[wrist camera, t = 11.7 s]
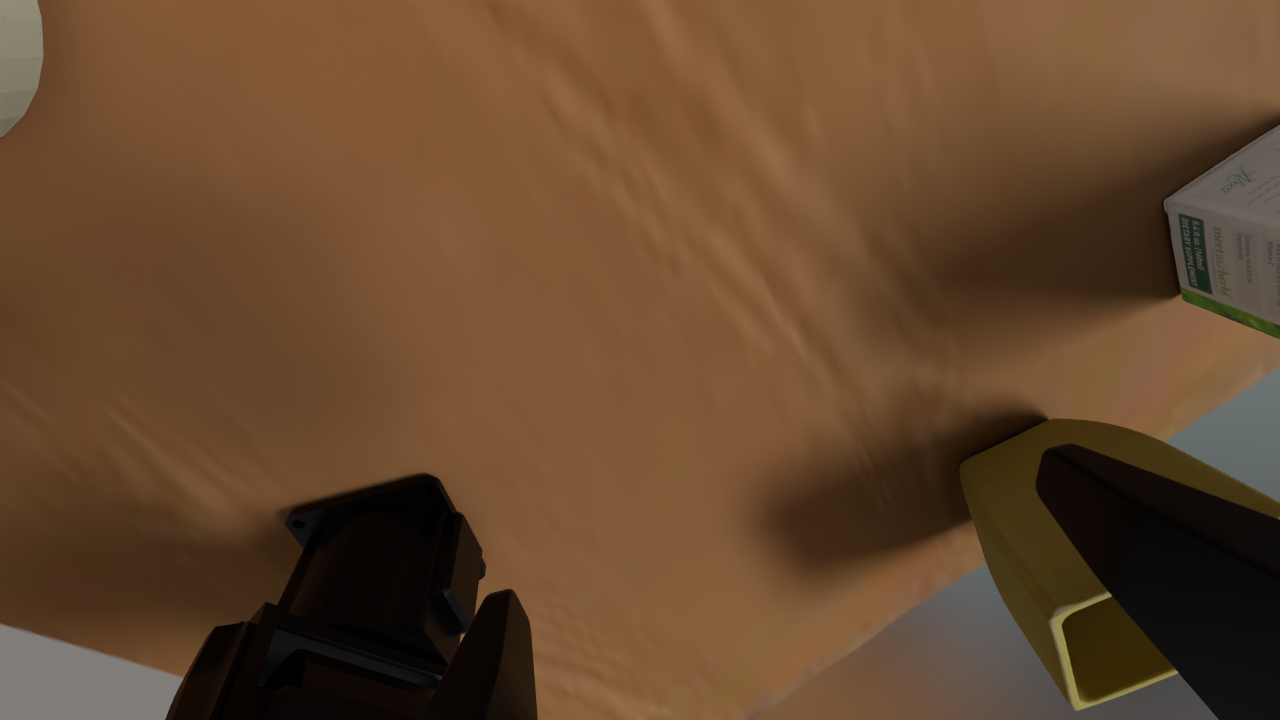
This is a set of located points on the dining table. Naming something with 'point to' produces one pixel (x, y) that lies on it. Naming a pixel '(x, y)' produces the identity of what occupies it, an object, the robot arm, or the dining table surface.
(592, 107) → the dining table surface
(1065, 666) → the flower pot
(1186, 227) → the syrup box
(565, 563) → the dining table surface
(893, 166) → the dining table surface
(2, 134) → the reusable coffee cup
